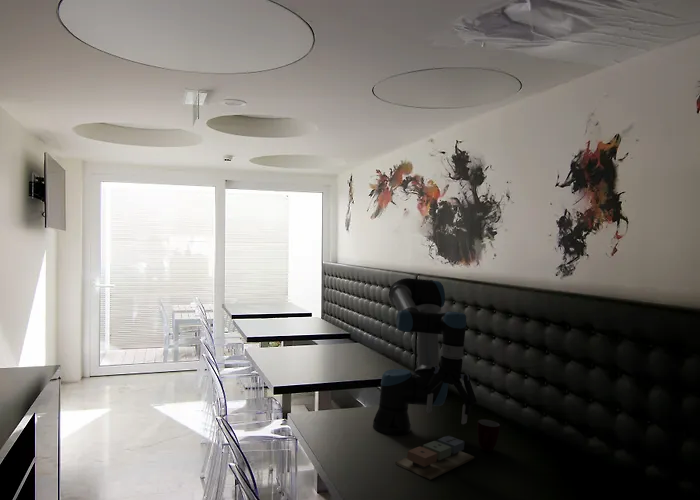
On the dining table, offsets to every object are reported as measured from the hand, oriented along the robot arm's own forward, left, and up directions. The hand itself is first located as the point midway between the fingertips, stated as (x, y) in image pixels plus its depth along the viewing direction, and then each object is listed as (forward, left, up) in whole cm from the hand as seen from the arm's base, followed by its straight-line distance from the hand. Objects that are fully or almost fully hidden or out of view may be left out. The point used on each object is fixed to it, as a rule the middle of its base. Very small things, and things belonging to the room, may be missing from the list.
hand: (445, 417), depth 174 cm
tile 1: (-1, -11, -13) cm, 17 cm away
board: (-1, -2, -15) cm, 15 cm away
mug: (+5, +23, -15) cm, 28 cm away
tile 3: (-1, +7, -13) cm, 15 cm away
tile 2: (-1, -2, -13) cm, 13 cm away
